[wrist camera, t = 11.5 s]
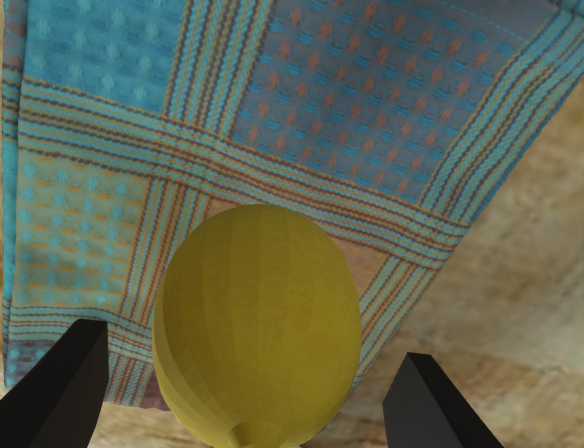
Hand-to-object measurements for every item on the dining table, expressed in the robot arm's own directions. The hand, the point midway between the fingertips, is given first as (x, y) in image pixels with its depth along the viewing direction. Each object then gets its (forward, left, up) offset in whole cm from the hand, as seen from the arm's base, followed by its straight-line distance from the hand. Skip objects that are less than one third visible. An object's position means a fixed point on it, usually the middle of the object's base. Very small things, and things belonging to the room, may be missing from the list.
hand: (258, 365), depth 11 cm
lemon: (0, 0, -6) cm, 6 cm away
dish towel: (-1, 0, -8) cm, 9 cm away
